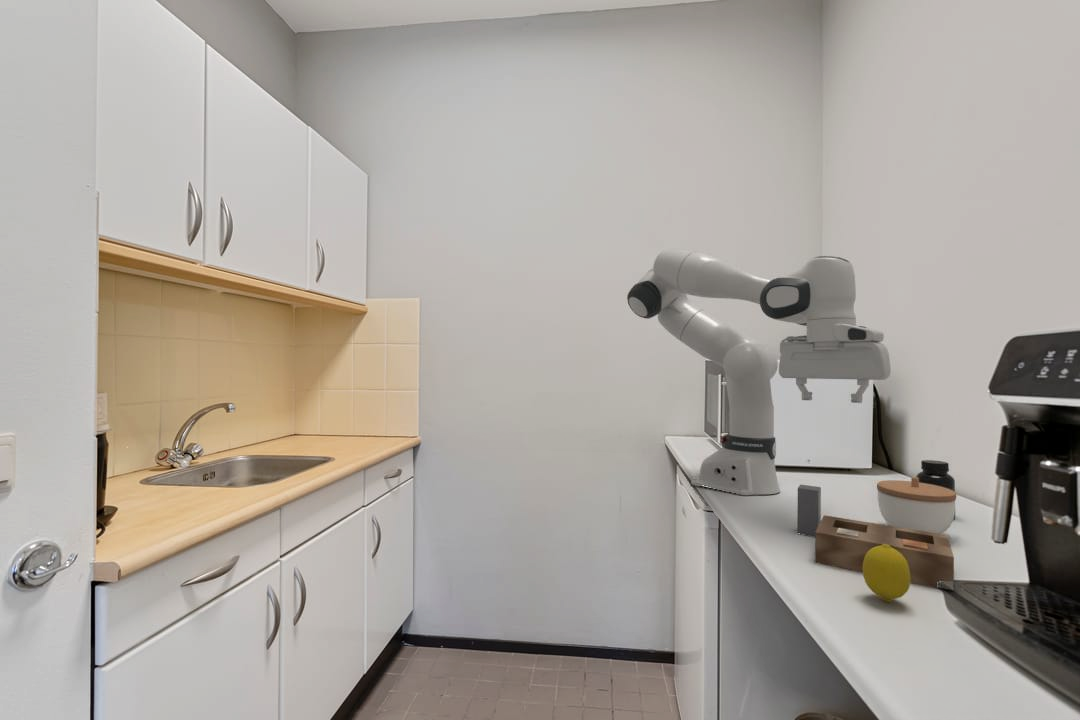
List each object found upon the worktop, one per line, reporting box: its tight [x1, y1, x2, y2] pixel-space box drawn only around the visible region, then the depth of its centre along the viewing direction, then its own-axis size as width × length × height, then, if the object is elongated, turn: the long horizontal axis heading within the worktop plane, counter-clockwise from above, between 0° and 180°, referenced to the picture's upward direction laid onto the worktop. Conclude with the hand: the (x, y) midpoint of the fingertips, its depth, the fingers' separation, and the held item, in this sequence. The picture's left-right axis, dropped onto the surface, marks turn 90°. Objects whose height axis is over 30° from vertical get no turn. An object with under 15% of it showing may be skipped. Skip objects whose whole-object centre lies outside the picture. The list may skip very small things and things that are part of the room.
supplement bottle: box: [916, 459, 956, 519], centre depth 111 cm, size 7×7×12 cm
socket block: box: [814, 514, 955, 589], centre depth 83 cm, size 18×12×5 cm, turn 54°
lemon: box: [862, 544, 911, 603], centre depth 70 cm, size 6×6×8 cm
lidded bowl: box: [876, 476, 957, 534], centre depth 99 cm, size 13×13×11 cm
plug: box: [796, 484, 822, 537], centre depth 99 cm, size 4×4×9 cm
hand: (830, 401), depth 103 cm, fingers open, 8 cm apart
